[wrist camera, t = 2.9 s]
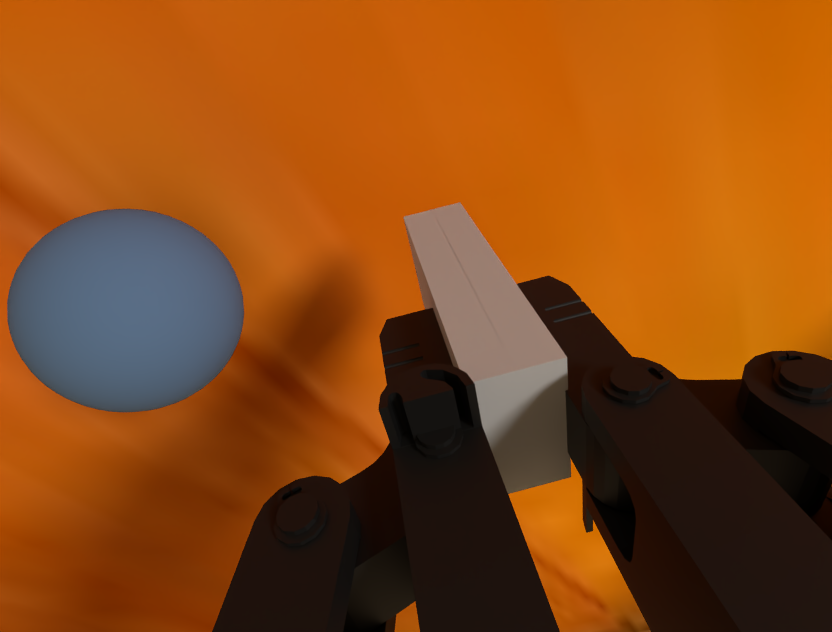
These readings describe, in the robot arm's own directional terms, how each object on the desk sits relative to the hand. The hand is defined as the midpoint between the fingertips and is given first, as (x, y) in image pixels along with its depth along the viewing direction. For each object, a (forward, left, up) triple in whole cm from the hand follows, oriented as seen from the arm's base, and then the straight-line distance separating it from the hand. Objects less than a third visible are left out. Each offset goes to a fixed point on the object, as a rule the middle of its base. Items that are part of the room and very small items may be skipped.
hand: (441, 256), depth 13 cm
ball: (+9, 0, -2) cm, 9 cm away
